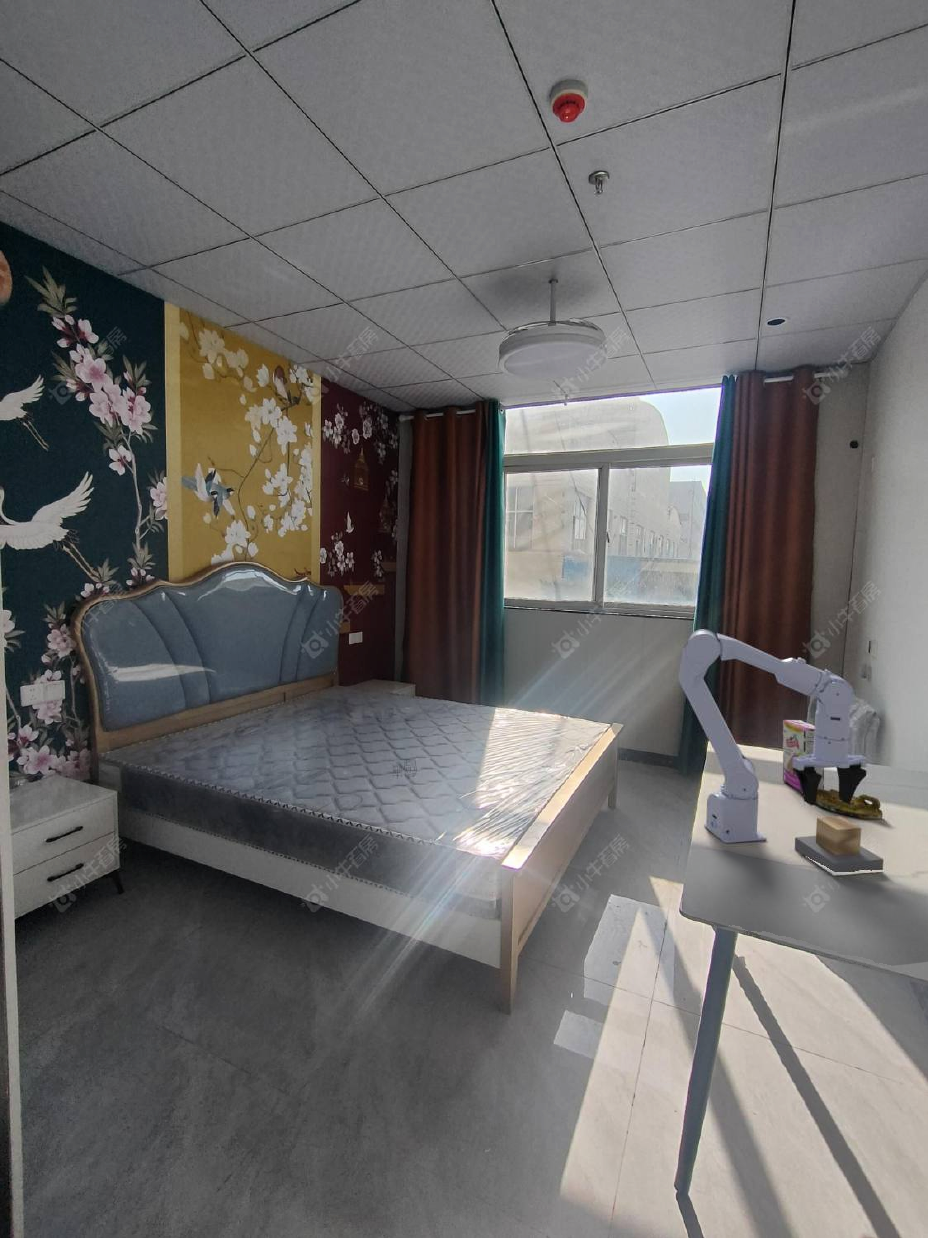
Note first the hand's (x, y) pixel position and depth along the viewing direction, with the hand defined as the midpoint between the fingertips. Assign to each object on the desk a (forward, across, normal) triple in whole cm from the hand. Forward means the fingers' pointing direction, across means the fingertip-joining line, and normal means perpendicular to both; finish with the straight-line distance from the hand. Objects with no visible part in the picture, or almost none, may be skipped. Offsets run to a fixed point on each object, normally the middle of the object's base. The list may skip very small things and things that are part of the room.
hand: (827, 802), depth 112 cm
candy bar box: (+9, +16, +27) cm, 33 cm away
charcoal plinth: (+9, -2, -5) cm, 11 cm away
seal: (+9, +18, +16) cm, 26 cm away
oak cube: (+7, -2, -5) cm, 9 cm away
